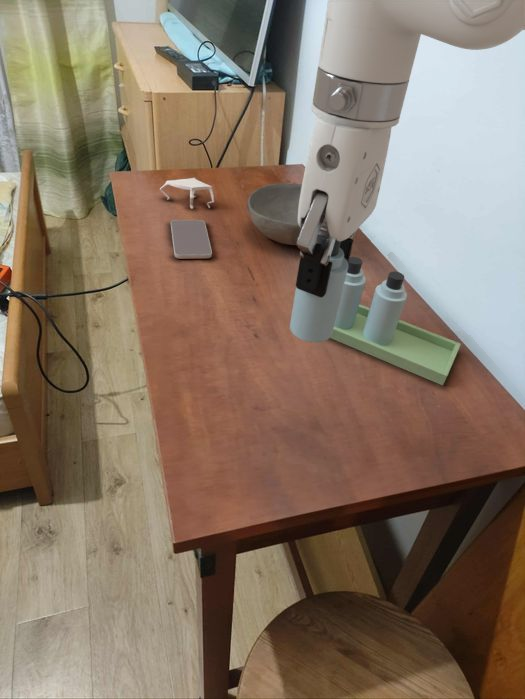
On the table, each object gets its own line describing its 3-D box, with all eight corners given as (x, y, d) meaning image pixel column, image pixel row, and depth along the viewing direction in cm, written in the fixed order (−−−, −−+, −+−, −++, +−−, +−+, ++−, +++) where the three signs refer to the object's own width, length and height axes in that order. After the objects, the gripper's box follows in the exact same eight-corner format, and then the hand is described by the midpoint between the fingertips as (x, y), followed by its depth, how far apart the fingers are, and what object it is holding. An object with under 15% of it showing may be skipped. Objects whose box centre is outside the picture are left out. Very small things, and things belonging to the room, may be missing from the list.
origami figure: (209, 194, 123) (210, 175, 120) (214, 210, 117) (215, 190, 114) (159, 194, 121) (158, 173, 117) (161, 210, 114) (160, 189, 111)
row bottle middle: (395, 334, 87) (416, 274, 80) (386, 349, 84) (407, 288, 76) (368, 323, 89) (386, 263, 81) (358, 337, 86) (376, 276, 78)
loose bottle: (338, 325, 60) (362, 232, 52) (322, 348, 56) (343, 252, 49) (300, 310, 61) (317, 218, 54) (282, 332, 58) (297, 236, 50)
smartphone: (204, 220, 111) (212, 254, 100) (204, 223, 112) (212, 259, 101) (170, 219, 110) (174, 255, 98) (170, 223, 110) (174, 259, 99)
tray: (456, 353, 86) (461, 343, 85) (442, 385, 79) (447, 376, 78) (320, 298, 94) (322, 289, 93) (297, 324, 88) (299, 314, 86)
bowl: (298, 272, 100) (304, 236, 95) (224, 231, 110) (226, 196, 105) (358, 240, 113) (366, 207, 108) (287, 206, 123) (292, 173, 118)
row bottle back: (358, 318, 90) (375, 259, 82) (347, 333, 86) (364, 272, 78) (332, 308, 91) (346, 249, 83) (320, 322, 88) (334, 261, 80)
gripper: (366, 131, 36) (321, 333, 47) (427, 88, 48) (379, 258, 59) (272, 106, 38) (251, 305, 50) (353, 71, 50) (321, 238, 62)
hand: (321, 278), depth 54 cm, fingers closed on loose bottle, 5 cm apart
